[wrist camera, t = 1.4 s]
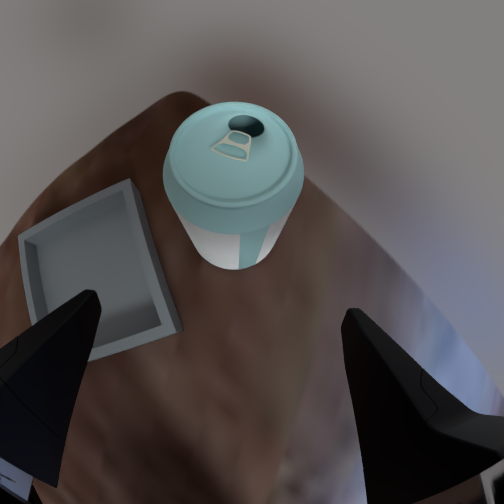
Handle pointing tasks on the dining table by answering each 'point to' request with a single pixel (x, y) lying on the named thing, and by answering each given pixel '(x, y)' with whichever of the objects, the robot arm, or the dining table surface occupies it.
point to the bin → (101, 268)
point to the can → (233, 181)
